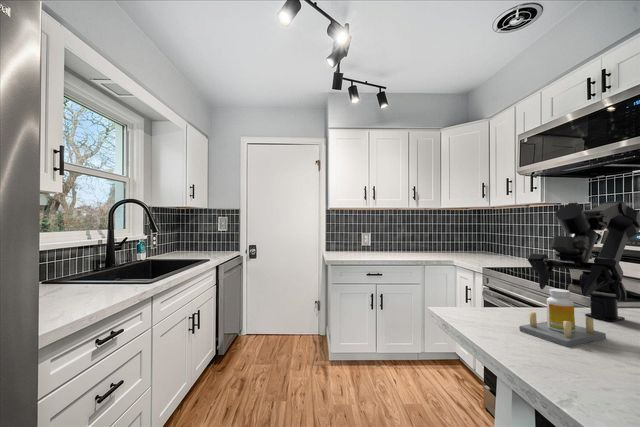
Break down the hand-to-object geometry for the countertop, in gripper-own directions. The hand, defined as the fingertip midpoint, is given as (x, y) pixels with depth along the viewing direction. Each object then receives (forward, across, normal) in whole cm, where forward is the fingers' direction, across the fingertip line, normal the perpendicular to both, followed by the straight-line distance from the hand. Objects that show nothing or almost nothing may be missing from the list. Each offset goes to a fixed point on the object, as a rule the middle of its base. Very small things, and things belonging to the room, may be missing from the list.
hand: (561, 291), depth 76 cm
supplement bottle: (+8, 0, +6) cm, 10 cm away
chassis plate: (+8, 0, +6) cm, 10 cm away
